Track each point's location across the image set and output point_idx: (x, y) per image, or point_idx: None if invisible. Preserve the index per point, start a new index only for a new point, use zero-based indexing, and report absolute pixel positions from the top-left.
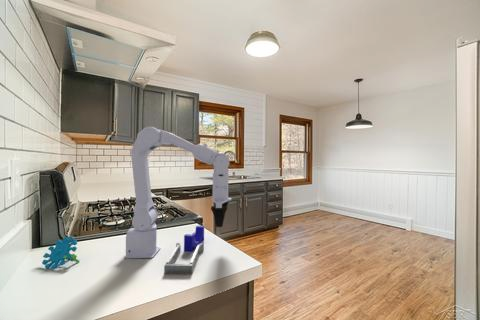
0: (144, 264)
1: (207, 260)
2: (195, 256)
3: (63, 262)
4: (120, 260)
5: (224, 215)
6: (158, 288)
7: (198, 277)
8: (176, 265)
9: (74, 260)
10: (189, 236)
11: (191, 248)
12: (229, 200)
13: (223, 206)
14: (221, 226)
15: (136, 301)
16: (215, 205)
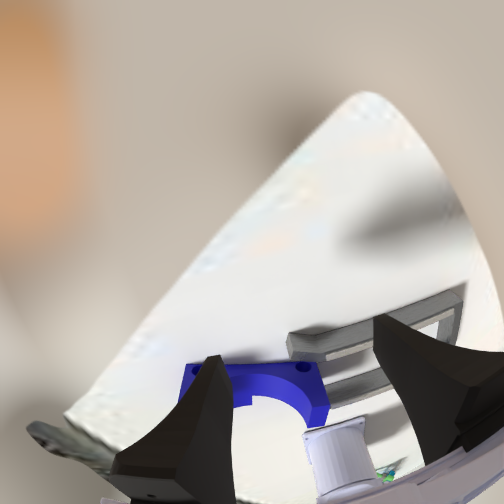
0: (392, 408)
1: (375, 283)
2: (415, 322)
3: (394, 473)
4: (369, 445)
5: (213, 379)
6: (481, 322)
7: (461, 265)
8: (456, 337)
9: (380, 474)
10: (327, 410)
11: (318, 370)
12: (417, 489)
13: (206, 459)
14: (387, 317)
15: (499, 328)
16: (233, 497)
